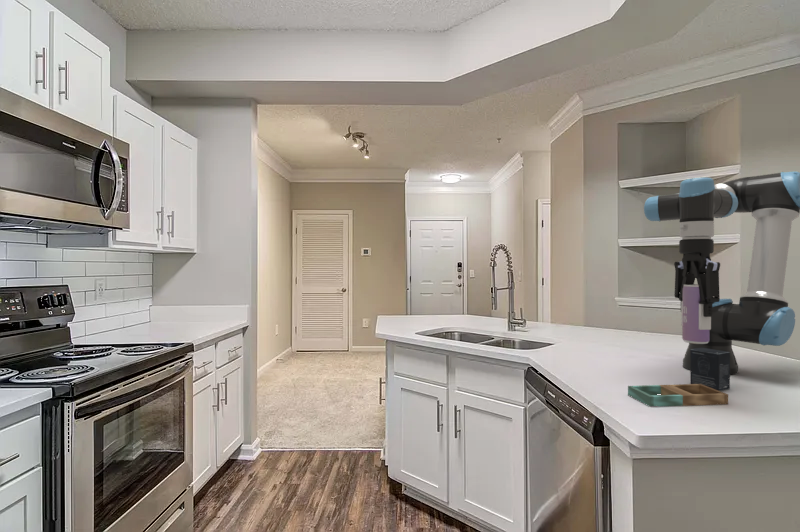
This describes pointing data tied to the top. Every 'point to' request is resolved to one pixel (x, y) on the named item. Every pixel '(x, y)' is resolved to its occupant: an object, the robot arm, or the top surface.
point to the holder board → (677, 395)
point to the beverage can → (692, 316)
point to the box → (710, 368)
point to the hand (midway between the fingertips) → (695, 327)
